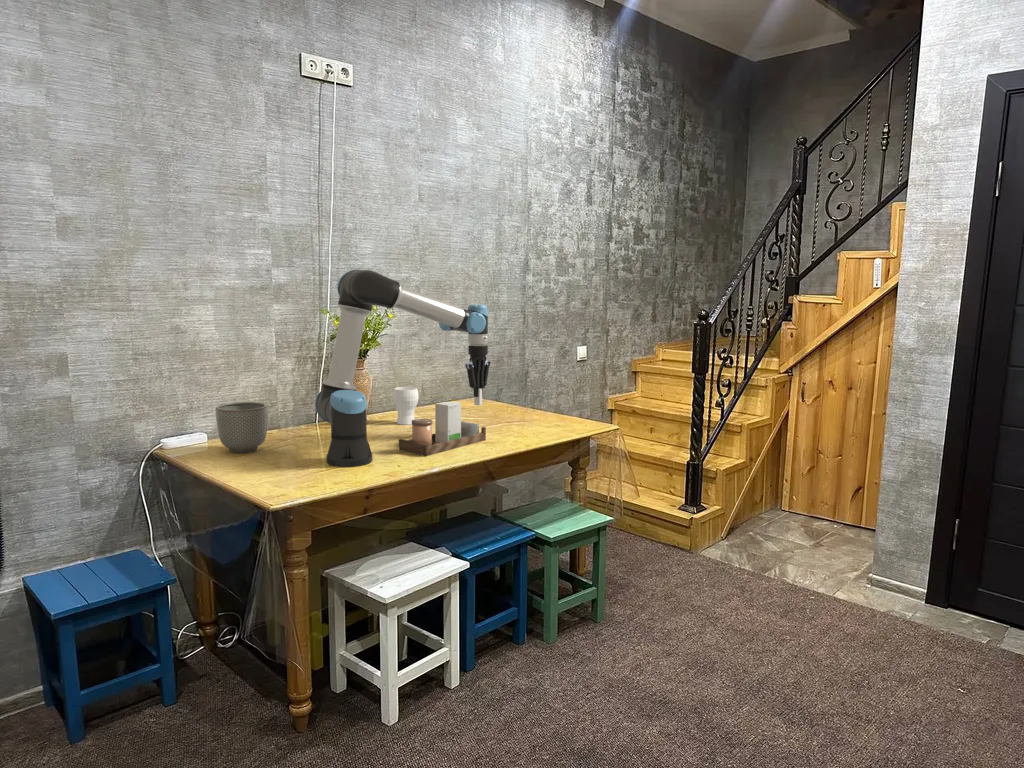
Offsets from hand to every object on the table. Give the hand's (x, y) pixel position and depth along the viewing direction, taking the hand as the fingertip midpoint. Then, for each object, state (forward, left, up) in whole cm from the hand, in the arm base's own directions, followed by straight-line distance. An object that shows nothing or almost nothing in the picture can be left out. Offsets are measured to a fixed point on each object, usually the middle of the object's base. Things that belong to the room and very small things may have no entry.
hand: (478, 404), depth 277 cm
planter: (-72, +48, -13) cm, 87 cm away
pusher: (-5, 0, -12) cm, 13 cm away
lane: (-20, 0, -13) cm, 23 cm away
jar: (-31, 0, -13) cm, 34 cm away
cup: (-1, +39, -13) cm, 41 cm away
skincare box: (-17, 0, -13) cm, 22 cm away
